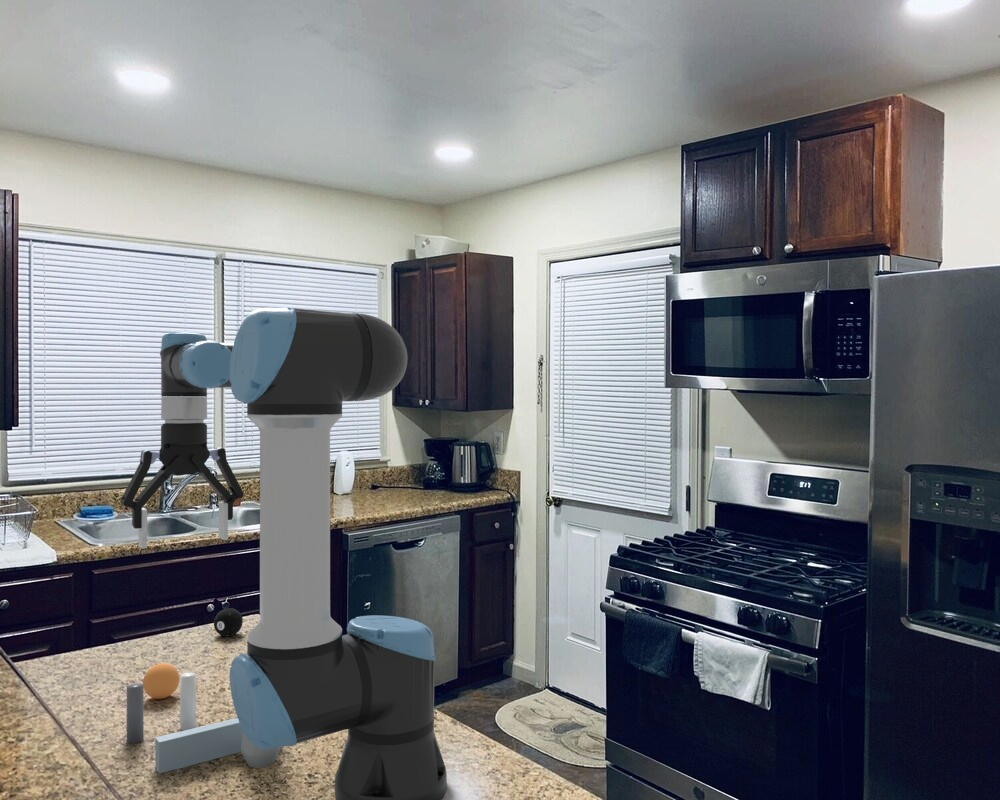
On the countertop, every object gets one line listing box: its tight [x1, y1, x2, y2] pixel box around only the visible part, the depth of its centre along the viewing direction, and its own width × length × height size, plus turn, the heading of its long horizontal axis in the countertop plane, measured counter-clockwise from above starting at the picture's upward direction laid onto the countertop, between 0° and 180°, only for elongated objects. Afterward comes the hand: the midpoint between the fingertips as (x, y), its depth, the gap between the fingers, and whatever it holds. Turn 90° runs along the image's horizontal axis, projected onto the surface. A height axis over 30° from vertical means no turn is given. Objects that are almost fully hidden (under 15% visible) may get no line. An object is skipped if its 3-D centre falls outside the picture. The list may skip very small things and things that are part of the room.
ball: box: [142, 662, 180, 700], centre depth 143 cm, size 6×6×6 cm
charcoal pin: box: [126, 682, 145, 744], centre depth 125 cm, size 2×2×8 cm
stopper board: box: [154, 717, 244, 775], centre depth 120 cm, size 2×18×4 cm, turn 127°
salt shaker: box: [240, 732, 282, 769], centre depth 118 cm, size 6×6×13 cm
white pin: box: [179, 672, 197, 731], centre depth 130 cm, size 2×2×8 cm
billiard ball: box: [213, 607, 244, 637], centre depth 180 cm, size 6×6×6 cm
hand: (184, 543), depth 141 cm, fingers open, 13 cm apart
